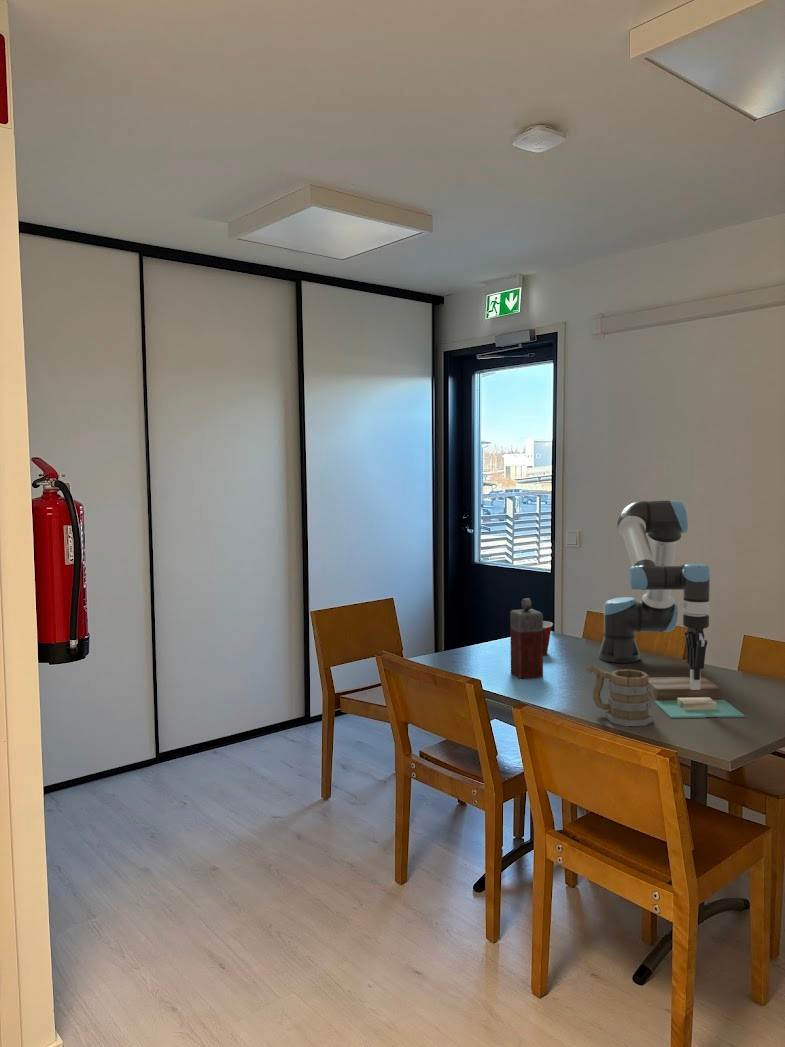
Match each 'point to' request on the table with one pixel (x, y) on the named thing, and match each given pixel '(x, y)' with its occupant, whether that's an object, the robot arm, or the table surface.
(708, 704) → the tile
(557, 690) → the table surface
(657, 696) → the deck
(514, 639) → the toy vending machine
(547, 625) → the plastic cup
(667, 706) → the mat
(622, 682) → the tankard
